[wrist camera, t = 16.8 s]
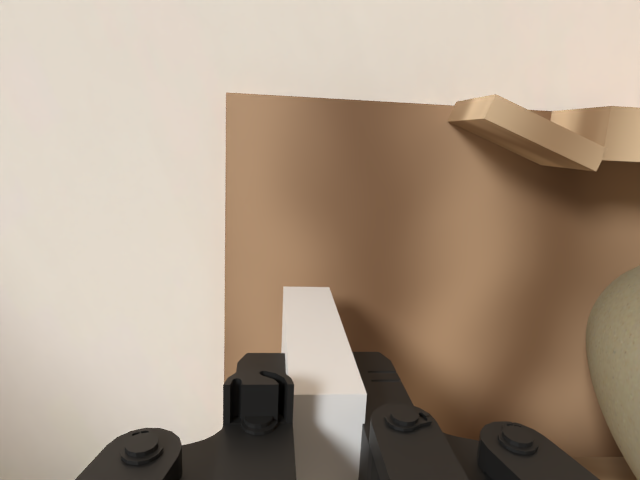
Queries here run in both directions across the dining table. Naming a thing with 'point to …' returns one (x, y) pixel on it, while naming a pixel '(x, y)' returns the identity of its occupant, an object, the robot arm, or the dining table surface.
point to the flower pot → (618, 361)
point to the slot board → (440, 247)
